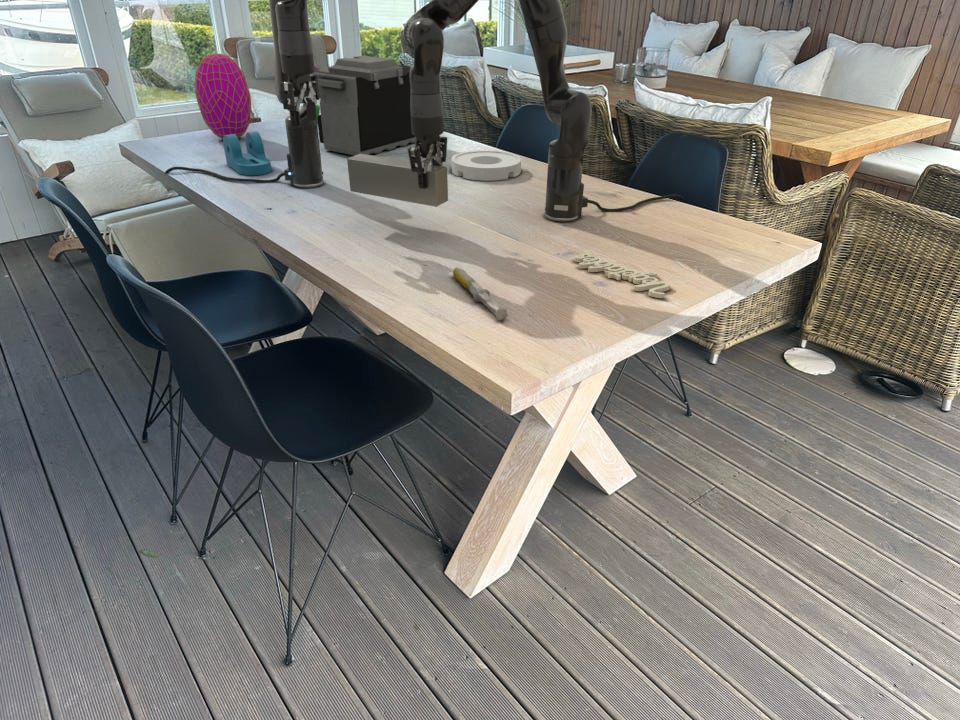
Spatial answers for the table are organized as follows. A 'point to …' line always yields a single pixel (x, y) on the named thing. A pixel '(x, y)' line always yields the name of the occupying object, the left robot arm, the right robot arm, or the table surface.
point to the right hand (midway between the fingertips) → (430, 184)
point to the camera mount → (246, 154)
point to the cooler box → (364, 106)
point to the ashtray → (486, 165)
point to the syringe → (479, 293)
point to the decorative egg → (223, 95)
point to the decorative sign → (625, 274)
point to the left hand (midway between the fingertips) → (304, 123)
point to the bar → (396, 180)
